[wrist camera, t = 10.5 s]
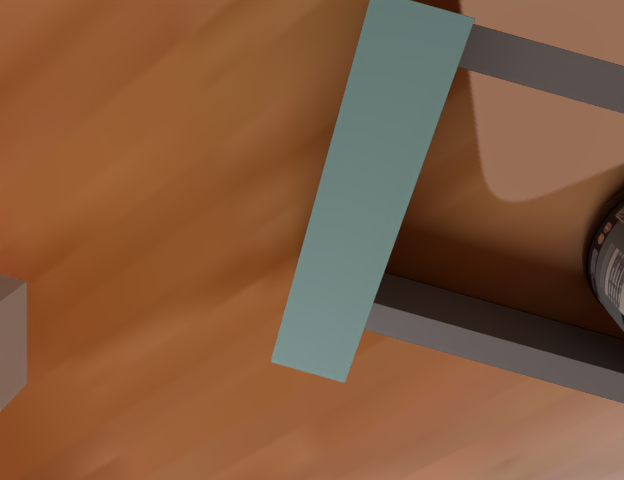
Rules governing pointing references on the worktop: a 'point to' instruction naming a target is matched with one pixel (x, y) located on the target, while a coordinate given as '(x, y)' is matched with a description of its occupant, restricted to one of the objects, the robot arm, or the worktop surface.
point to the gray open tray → (396, 195)
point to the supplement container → (607, 258)
